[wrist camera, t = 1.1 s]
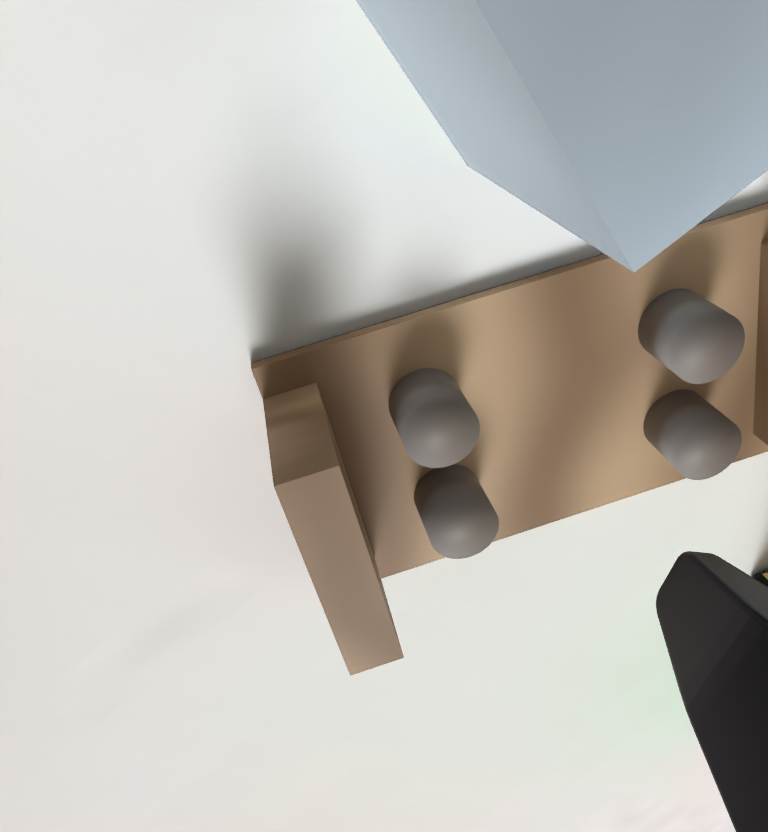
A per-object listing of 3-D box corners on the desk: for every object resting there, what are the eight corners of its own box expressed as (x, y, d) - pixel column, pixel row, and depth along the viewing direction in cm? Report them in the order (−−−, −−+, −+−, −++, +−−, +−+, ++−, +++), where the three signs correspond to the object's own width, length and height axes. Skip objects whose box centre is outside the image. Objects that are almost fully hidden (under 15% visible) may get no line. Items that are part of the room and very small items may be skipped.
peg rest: (335, 585, 25) (359, 697, 21) (251, 363, 21) (260, 452, 17) (786, 436, 26) (892, 517, 22) (803, 191, 22) (942, 236, 17)
